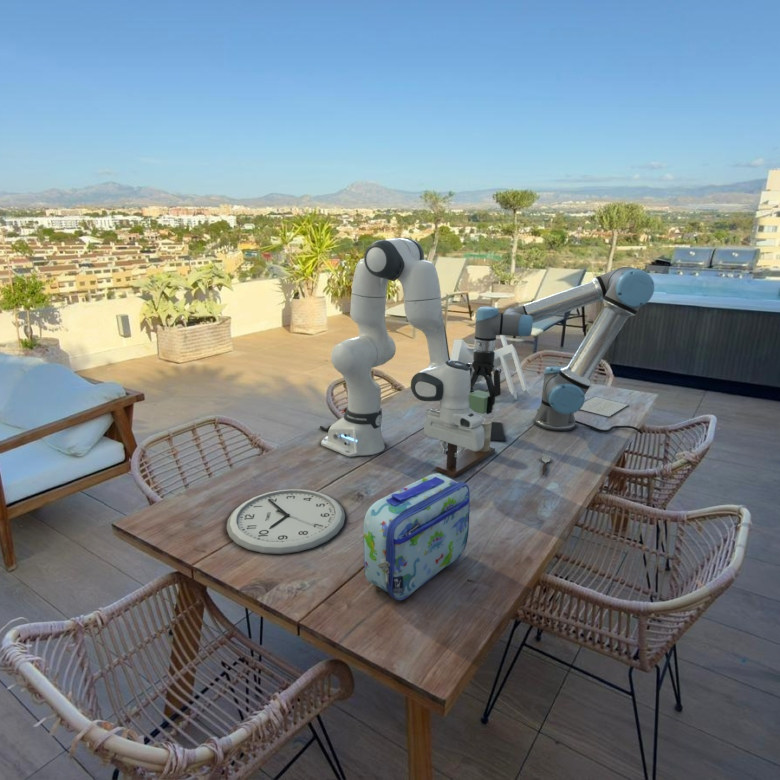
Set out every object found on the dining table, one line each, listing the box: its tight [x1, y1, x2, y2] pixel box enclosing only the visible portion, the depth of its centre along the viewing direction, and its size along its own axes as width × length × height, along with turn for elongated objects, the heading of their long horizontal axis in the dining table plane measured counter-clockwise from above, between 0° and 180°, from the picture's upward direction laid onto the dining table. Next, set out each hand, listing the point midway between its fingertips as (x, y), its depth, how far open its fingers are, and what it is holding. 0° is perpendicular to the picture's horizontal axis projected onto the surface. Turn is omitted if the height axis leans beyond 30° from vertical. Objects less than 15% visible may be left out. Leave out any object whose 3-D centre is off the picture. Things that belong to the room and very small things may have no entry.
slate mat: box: [490, 421, 506, 443], centre depth 197 cm, size 18×18×1 cm
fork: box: [541, 451, 552, 476], centre depth 168 cm, size 3×16×2 cm, turn 160°
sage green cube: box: [469, 389, 495, 415], centre depth 194 cm, size 7×7×6 cm
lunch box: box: [362, 472, 471, 601], centre depth 112 cm, size 26×11×21 cm, turn 134°
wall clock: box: [226, 488, 346, 555], centre depth 135 cm, size 30×2×30 cm
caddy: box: [435, 417, 496, 478], centre depth 170 cm, size 7×25×12 cm, turn 140°
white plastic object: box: [450, 335, 531, 400], centre depth 245 cm, size 37×45×31 cm
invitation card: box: [580, 396, 629, 418], centre depth 226 cm, size 21×1×15 cm
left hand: (451, 455), depth 163 cm, fingers closed on caddy, 3 cm apart
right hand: (479, 410), depth 195 cm, fingers closed on sage green cube, 7 cm apart
